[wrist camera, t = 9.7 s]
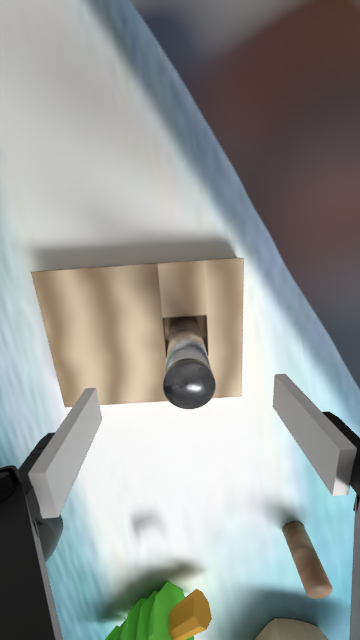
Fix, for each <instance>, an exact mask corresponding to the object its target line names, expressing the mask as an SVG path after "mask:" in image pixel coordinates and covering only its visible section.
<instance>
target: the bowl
mask: <svg viewBox="0 0 360 640" xmlns="http://www.w3.org/2000/svg"><path fill="white" fill-rule="evenodd" d="M255 640H328V639H327V638H326V636H325V635H324V634H323V633H322V631H321V630H320V629H319V627H317V626H315V625H312V624H310V623H307V622H303V621H299V620H293V619H286V618H274V619H273V620H272V621H270V622H269V623H268V624H267V625H266V626H265V627H264V628H263V630H262V631H261V632H260V633H259V635H258V636H257V637H256V639H255Z"/></svg>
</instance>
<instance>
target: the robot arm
mask: <svg viewBox="0 0 360 640" xmlns="http://www.w3.org/2000/svg"><path fill="white" fill-rule="evenodd" d="M273 408H274V409H275V411H276V412H277V414H278V415H279V417H280V418H281V420H282V421H283V423H284V424H285V426H286V427H287V429H288V430H289V432H290V433H291V435H292V436H293V437H294V439H295V440H296V442H297V443H298V445H299V446H300V448H301V449H302V451H303V452H304V454H305V455H306V457H307V458H308V460H309V461H310V463H311V464H312V466H313V467H314V469H315V470H316V472H317V473H318V475H319V476H320V478H321V479H322V481H323V482H324V484H325V485H326V487H327V488H328V490H329V491H330V493H331V494H332V496H337V495H348V493H349V488H350V485H351V487H352V488H353V489H354V491H355V492H356V493H357V494H356V499H355V504H354V509H353V510H354V511H355V524H354V547H353V570H352V593H351V616H350V639H349V640H360V438H359V437H358V436H357V435H356V434H355V433H354V432H353V431H351V429H350V428H349V427H348V426H347V425H345V423H344V422H343V421H342V420H341V419H340V418H339V417H337V416H335V415H334V414H332V413H330V412H321V411H320V410H319V409H318V408H317V407H316V406H315V404H314V403H313V402H312V401H311V400H310V399H309V398H308V397H307V396H306V395H305V394H304V393H303V392H302V391H301V390H300V389H299V388H298V387H297V386H296V385H295V384H294V383H293V382H292V381H291V379H290V378H289V377H288V376H287V375H286V374H276V375H275V379H274V396H273ZM101 421H102V416H101V411H100V406H99V401H98V395H97V390H96V388H85V390H84V391H83V393H82V394H81V396H80V397H79V399H78V400H77V402H76V403H75V405H74V406H73V408H72V409H71V411H70V412H69V414H68V415H67V417H66V418H65V420H64V421H63V423H62V424H61V426H60V427H59V428H58V430H57V431H56V433H48V434H47V435H46V436H44V437H43V438H42V439H41V440H40V441H39V442H38V444H37V445H36V446H35V448H34V450H32V452H31V453H30V455H29V456H28V457H27V459H26V460H25V461H24V463H23V464H22V466H21V467H20V468H19V470H18V469H17V468H16V466H12V465H11V466H5V467H3V468H0V640H63V637H62V633H61V629H60V624H59V620H58V616H57V612H56V607H55V603H54V599H53V594H52V590H51V586H50V581H49V577H48V573H47V569H46V564H45V563H46V561H47V560H48V558H49V557H50V556H51V555H52V553H53V552H54V550H55V548H56V546H57V544H58V541H59V539H60V536H61V534H62V531H63V523H62V520H61V517H60V513H61V511H62V509H63V507H64V504H65V502H66V500H67V497H68V495H69V493H70V491H71V488H72V486H73V484H74V482H75V479H76V477H77V475H78V473H79V470H80V468H81V466H82V464H83V461H84V459H85V457H86V455H87V452H88V450H89V448H90V446H91V443H92V441H93V439H94V436H95V434H96V432H97V430H98V427H99V425H100V423H101Z"/></svg>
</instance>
